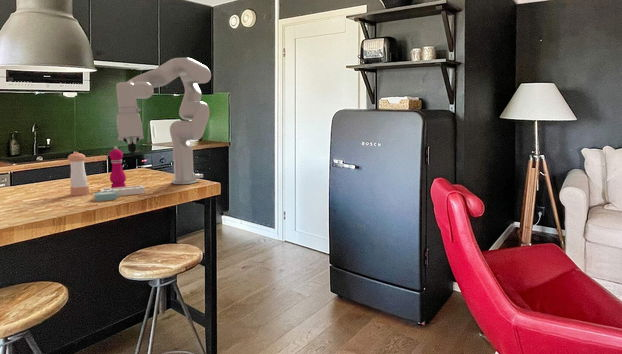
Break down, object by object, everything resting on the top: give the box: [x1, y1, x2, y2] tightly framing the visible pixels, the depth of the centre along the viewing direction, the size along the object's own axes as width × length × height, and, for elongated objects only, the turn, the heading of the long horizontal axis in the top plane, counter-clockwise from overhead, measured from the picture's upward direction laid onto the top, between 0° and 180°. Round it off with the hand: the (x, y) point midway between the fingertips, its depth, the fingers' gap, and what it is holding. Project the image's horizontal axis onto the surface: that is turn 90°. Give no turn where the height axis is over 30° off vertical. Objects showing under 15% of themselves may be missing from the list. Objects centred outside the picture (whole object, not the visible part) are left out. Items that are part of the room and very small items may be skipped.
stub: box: [94, 191, 117, 202], centre depth 189 cm, size 8×6×3 cm
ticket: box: [99, 185, 146, 197], centre depth 199 cm, size 18×7×3 cm, turn 119°
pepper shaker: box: [67, 151, 90, 196], centre depth 197 cm, size 7×7×19 cm
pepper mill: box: [108, 146, 127, 188], centre depth 212 cm, size 7×7×20 cm
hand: (132, 152), depth 196 cm, fingers closed
